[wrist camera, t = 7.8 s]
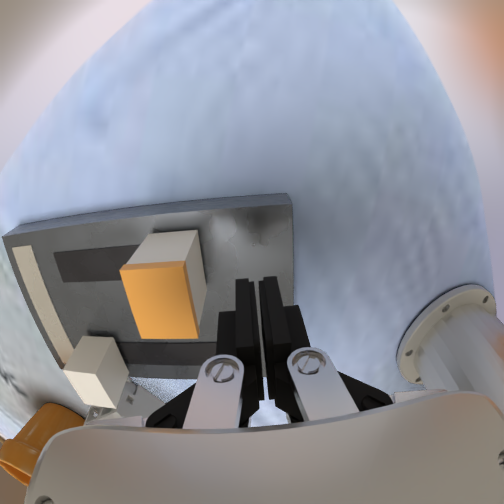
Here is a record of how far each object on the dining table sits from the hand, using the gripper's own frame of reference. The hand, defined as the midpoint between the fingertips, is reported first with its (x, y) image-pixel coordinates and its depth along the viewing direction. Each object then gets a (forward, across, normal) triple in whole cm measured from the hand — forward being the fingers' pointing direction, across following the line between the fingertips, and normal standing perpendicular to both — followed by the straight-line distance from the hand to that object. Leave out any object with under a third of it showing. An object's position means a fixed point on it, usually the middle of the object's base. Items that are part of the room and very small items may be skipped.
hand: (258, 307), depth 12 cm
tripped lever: (+6, +4, +1) cm, 7 cm away
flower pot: (+9, +28, +27) cm, 40 cm away
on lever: (+6, +13, +9) cm, 16 cm away
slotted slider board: (+9, +8, +5) cm, 13 cm away
